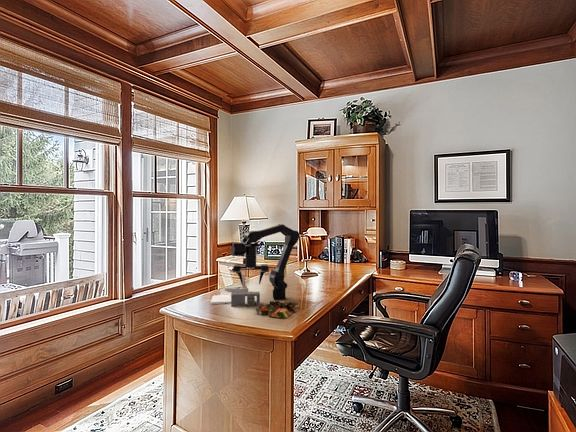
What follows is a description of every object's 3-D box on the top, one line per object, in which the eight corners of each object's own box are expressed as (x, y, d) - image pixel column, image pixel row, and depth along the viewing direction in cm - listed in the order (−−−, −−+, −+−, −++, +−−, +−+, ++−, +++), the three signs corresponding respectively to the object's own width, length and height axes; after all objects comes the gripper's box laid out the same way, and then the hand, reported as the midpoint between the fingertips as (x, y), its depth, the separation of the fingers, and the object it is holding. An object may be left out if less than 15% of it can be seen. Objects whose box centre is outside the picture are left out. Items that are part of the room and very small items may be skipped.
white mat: (234, 296, 197) (234, 295, 197) (233, 303, 183) (233, 301, 183) (212, 297, 195) (212, 295, 195) (210, 304, 182) (210, 302, 181)
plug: (254, 300, 189) (254, 293, 189) (254, 306, 177) (254, 298, 177) (247, 300, 189) (247, 293, 189) (246, 306, 177) (246, 298, 177)
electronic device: (226, 274, 215) (249, 275, 211) (227, 290, 215) (249, 291, 211) (222, 276, 210) (245, 276, 206) (223, 292, 210) (246, 293, 206)
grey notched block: (259, 302, 184) (259, 291, 184) (259, 305, 179) (259, 293, 179) (231, 303, 182) (231, 292, 182) (231, 306, 177) (231, 294, 177)
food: (270, 304, 183) (270, 297, 183) (303, 308, 176) (303, 301, 176) (250, 316, 163) (250, 308, 163) (287, 321, 156) (288, 313, 156)
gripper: (267, 252, 195) (267, 280, 195) (233, 253, 192) (233, 281, 193) (268, 255, 184) (268, 285, 184) (233, 256, 181) (233, 285, 182)
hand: (250, 284), depth 186 cm, fingers open, 9 cm apart
